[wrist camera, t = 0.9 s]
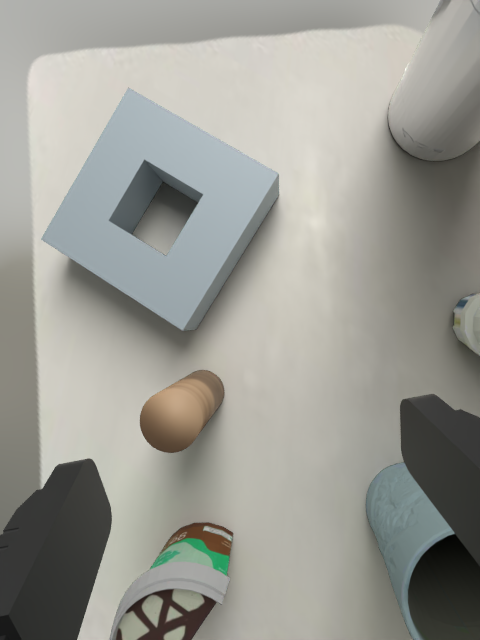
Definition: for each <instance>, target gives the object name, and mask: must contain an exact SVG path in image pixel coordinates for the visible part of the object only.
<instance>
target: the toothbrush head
mask: <svg viewBox="0 0 480 640" xmlns="http://www.w3.org/2000/svg"><path fill="white" fill-rule="evenodd" d="M453 312H454V313H455V318H454V326H453V330H454V332H455V334H456V336H457V338H458V340H459V341H461V342H463V343H464V344H465V345H466V346H468V347H469V348H470V349H471V350H472V351H474V352H475V353H476V354H478V355H479V356H480V293H478V294H471V295H469V296H467V297H465V298H463V299H461V300H460V301H459V303H458V304H457V306H456V307H455V309H454V311H453Z"/></svg>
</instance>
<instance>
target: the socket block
mask: <svg viewBox="0 0 480 640" xmlns="http://www.w3.org/2000/svg"><path fill="white" fill-rule="evenodd" d="M162 182H165V183H166V184H168V185H170V186H171V187H173V188H175V189H176V190H178V191H180V192H181V193H183V194H185V195H186V196H188V197H190V198H191V199H193V200H195V201H196V202H198V204H197V206H196V208H195V209H194V211H193V213H192V214H191V216H190V218H189V219H188V221H187V223H186V224H185V226H184V228H183V229H182V231H181V233H180V234H179V236H178V238H177V239H176V241H175V243H174V244H173V246H172V248H171V249H170V251H169V253H168V254H167V256H166V255H164V254H162V253H161V252H159V251H157V250H156V249H154V248H153V247H151V246H149V245H148V244H146V243H145V242H143V241H141V240H140V239H138V238H137V237H135V236H133V235H132V233H133V231H134V229H135V228H136V226H137V224H138V223H139V221H140V219H141V217H142V216H143V214H144V212H145V211H146V209H147V207H148V206H149V204H150V202H151V201H152V199H153V197H154V196H155V194H156V192H157V190H158V189H159V187H160V185H161V184H162ZM278 195H279V173H277V172H275V171H273V170H272V169H270V168H268V167H266V166H265V165H263V164H261V163H259V162H258V161H256V160H254V159H252V158H251V157H249V156H247V155H245V154H244V153H242V152H240V151H238V150H237V149H235V148H233V147H231V146H230V145H228V144H226V143H224V142H223V141H221V140H219V139H217V138H216V137H214V136H212V135H210V134H209V133H207V132H205V131H203V130H202V129H200V128H198V127H196V126H195V125H193V124H191V123H189V122H188V121H186V120H184V119H182V118H181V117H179V116H177V115H175V114H174V113H172V112H170V111H168V110H167V109H165V108H163V107H162V106H160V105H158V104H156V103H155V102H153V101H151V100H149V99H148V98H146V97H144V96H142V95H141V94H139V93H137V92H135V91H134V90H132V89H130V88H128V89H127V91H126V93H125V94H124V96H123V98H122V100H121V101H120V103H119V105H118V106H117V108H116V110H115V112H114V113H113V115H112V117H111V119H110V120H109V122H108V124H107V126H106V127H105V129H104V131H103V132H102V134H101V136H100V138H99V139H98V141H97V143H96V145H95V146H94V148H93V150H92V152H91V153H90V155H89V157H88V158H87V160H86V162H85V164H84V165H83V167H82V169H81V171H80V172H79V174H78V176H77V178H76V179H75V181H74V183H73V185H72V186H71V188H70V190H69V191H68V193H67V195H66V197H65V198H64V200H63V202H62V204H61V205H60V207H59V209H58V211H57V212H56V214H55V216H54V217H53V219H52V221H51V223H50V224H49V226H48V228H47V230H46V231H45V233H44V235H43V237H42V238H41V240H43V241H44V242H46V243H47V244H49V245H51V246H52V247H54V248H55V249H57V250H58V251H60V252H61V253H63V254H65V255H66V256H68V257H69V258H71V259H72V260H74V261H75V262H77V263H78V264H80V265H82V266H83V267H85V268H86V269H88V270H89V271H91V272H92V273H94V274H95V275H97V276H99V277H100V278H102V279H103V280H105V281H106V282H108V283H109V284H111V285H113V286H114V287H116V288H117V289H119V290H120V291H122V292H123V293H125V294H126V295H128V296H130V297H131V298H133V299H134V300H136V301H137V302H139V303H140V304H142V305H144V306H145V307H147V308H148V309H150V310H151V311H153V312H154V313H156V314H157V315H159V316H161V317H162V318H164V319H165V320H167V321H168V322H170V323H171V324H173V325H174V326H176V327H178V328H179V329H181V330H182V331H185V330H196V329H197V327H198V326H199V324H200V322H201V321H202V319H203V317H204V316H205V314H206V313H207V311H208V309H209V308H210V306H211V304H212V303H213V301H214V300H215V298H216V296H217V295H218V293H219V291H220V290H221V288H222V287H223V285H224V283H225V282H226V280H227V278H228V277H229V275H230V274H231V272H232V270H233V269H234V267H235V265H236V264H237V262H238V261H239V259H240V257H241V256H242V254H243V252H244V251H245V249H246V248H247V246H248V244H249V243H250V241H251V239H252V238H253V236H254V234H255V233H256V231H257V230H258V228H259V226H260V225H261V223H262V221H263V220H264V218H265V217H266V215H267V213H268V212H269V210H270V208H271V207H272V205H273V204H274V202H275V200H276V199H277V197H278Z"/></svg>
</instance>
